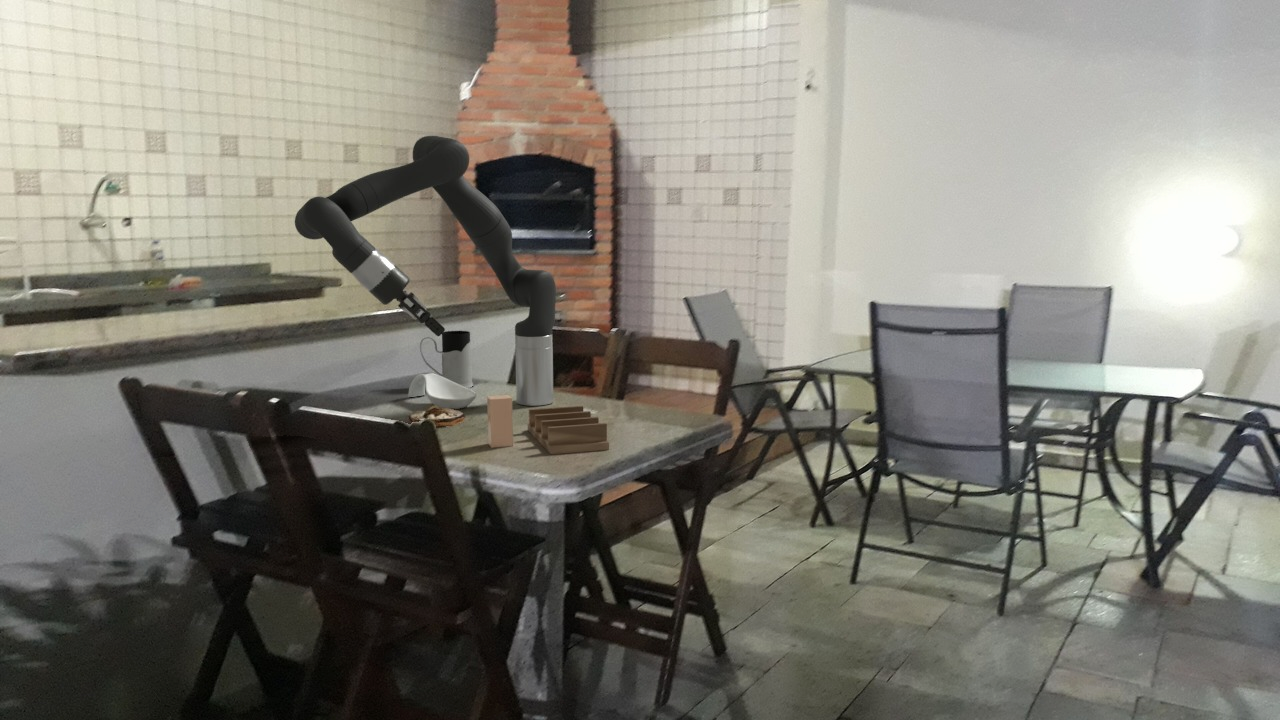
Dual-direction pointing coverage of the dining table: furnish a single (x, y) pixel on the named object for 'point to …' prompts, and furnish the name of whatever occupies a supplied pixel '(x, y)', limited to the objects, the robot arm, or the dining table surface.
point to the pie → (438, 416)
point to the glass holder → (455, 357)
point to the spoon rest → (441, 391)
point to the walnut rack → (567, 430)
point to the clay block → (500, 421)
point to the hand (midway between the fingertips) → (439, 330)
